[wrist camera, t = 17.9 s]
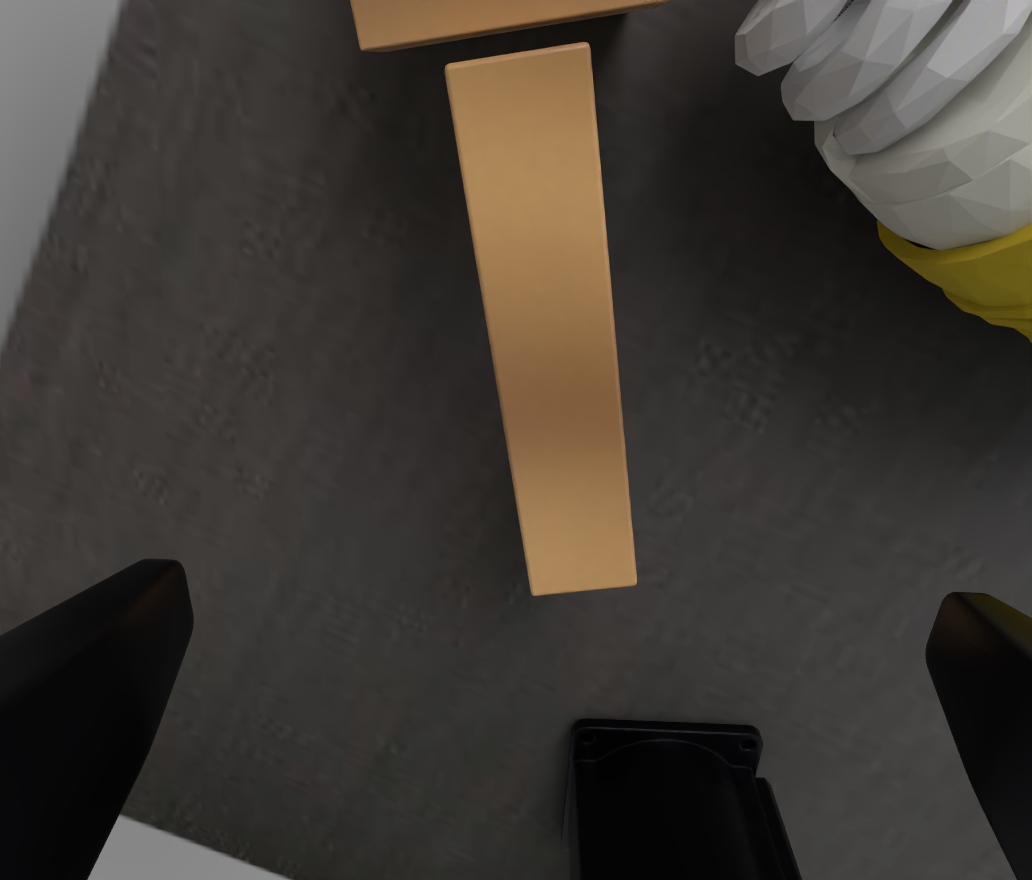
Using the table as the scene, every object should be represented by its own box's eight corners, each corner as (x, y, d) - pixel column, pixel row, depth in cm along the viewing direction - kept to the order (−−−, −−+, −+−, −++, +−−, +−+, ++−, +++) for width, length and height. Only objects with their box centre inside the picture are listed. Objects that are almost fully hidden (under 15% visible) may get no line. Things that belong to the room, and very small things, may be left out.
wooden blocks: (362, -178, 15) (254, -328, 9) (620, -227, 15) (678, -415, 9) (479, 457, 22) (460, 605, 16) (661, 436, 21) (712, 579, 15)
